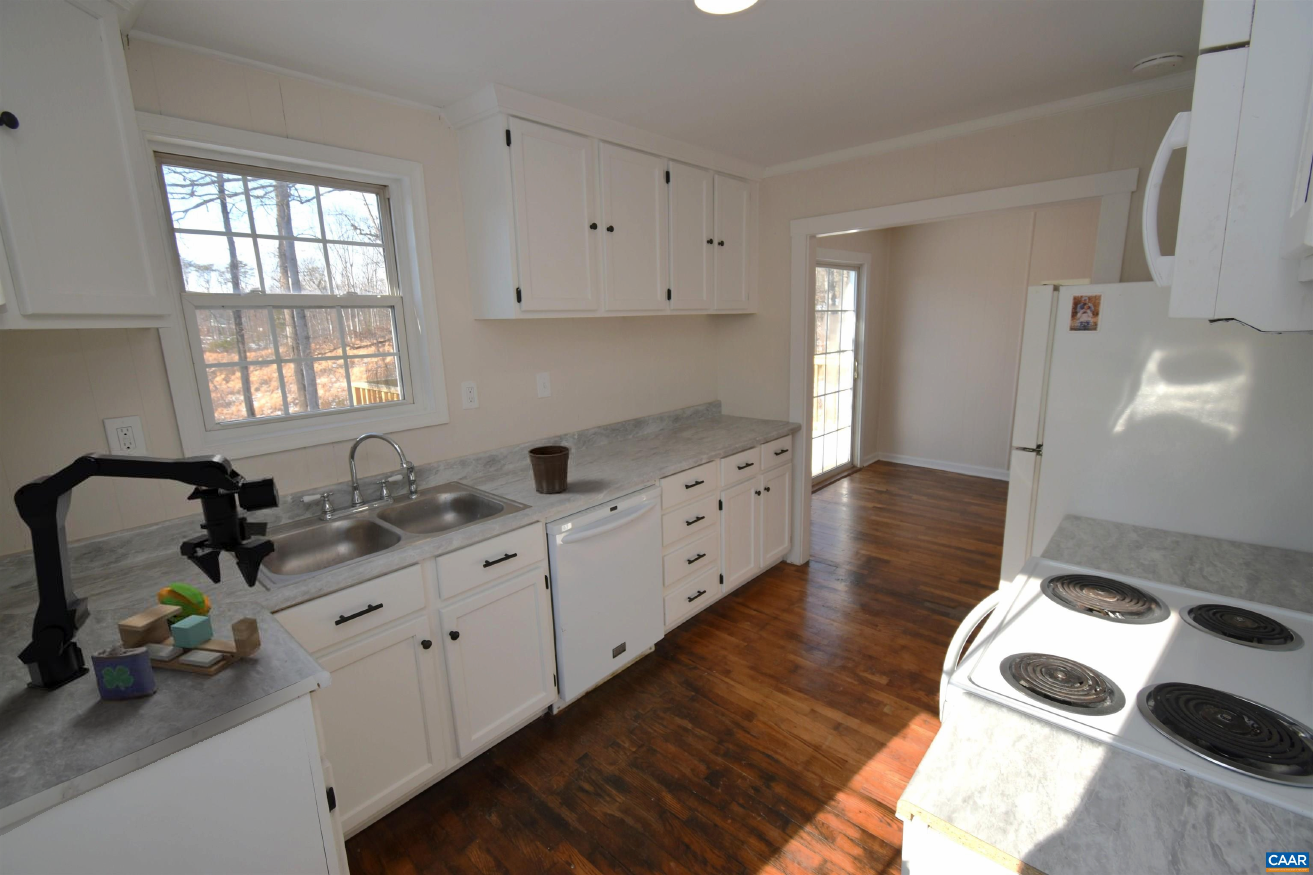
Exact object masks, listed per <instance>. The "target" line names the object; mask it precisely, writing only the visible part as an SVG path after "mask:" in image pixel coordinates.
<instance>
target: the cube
mask: <svg viewBox="0 0 1313 875" xmlns="http://www.w3.org/2000/svg"><path fill="white" fill-rule="evenodd" d="M170 630H171V634H172V637H173V640H174V644H175V646H178V647H185V648H194V647H196V646H198V645H199V644H201V643H203V642H205V641H206V640H208V639H210V638H211V639H213V637H214V633H213V628H212V621H211V618H210V616H197V615H192V616H190V617H188V618H186V619H184V620H182V621H180V622H178V623H174V624H172V625H170Z"/></svg>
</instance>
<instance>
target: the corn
mask: <svg viewBox="0 0 1313 875" xmlns="http://www.w3.org/2000/svg"><path fill="white" fill-rule="evenodd" d="M157 601H158V603H159V604H162V605H171V606H179V607H182V612H180V613H178V614H176V615H174V616H176V617H174V616H172V617H169V618H167V619H168V620H170V621H171V622H173V623H174V624H176V623H178V622H180V621H182V620H184V619H186V618H188V617H190V616H192V615H197V616H205V617H207V615H209V613H210V611H211V609H212V607H211V602H210V601H211V600H210V598H208V596H207V595H206V594H203V592H202V591H200V590H199V589H196V588H195V587H193V586H191V585H189V584H186V583H179V582H178V583H175V582H174V583H169V584H168V587H163V588H162V589H160V590H158V592H157Z"/></svg>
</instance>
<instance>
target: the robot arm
mask: <svg viewBox="0 0 1313 875" xmlns="http://www.w3.org/2000/svg"><path fill="white" fill-rule="evenodd" d="M91 477H104V478H105V477H110V478H111V477H112V478H126V479H127V478H132V479H151V480H152V479H153V480H154V479H156V480H171V481H176V482H180V483H182V484H186V485H190V486H194V489H193V490H192V491H191V493H190V494H189V495H187V497H186V500H187V501H193V500H195V501H196V500H200V504H201V509H202V513H203V519H204V522H202V523H200V524H199V527H200V530H206V533H203V534H200V535H197V536H194V537H192V538H189V539H187V540H185V541H184V540H183V541H182V543H181V545H180V546H179V550H180V554H181V556H184V557H186V559H187V560H190V561H191V563H193V564H194V566H196V567H197V568H198V569H200V570H201V572H202V573H204V574H205V575H206V577H207V578H209V580H210V581H211V582H213V584H215V585H216V584H217V585H218V584H220V583H221V581H222V578H221V566H220V558H219V557H220V556H221V553H222V552H229V553H234V557H235V559H237V561H235V565H236V566H237V568H238V570H239V572H240V574H241V576H242V577H243V579H244V581H245V583H246V584H247V586H248V588H253V587H255V586H256V583H257V579H258V575H259V571H260V568H261V564H262V562H263V560H264V559H265V558H266V557H269V556H270V555H271V554H272V553H274V552H276V547H275V542H274V541H273V540H271V539H267V538H254V539H252V537H253V536H255V537H256V536H261V537H267V531H268V524H269V523H268V521H259V520H258V521H257V520H248V517H247V516H243V515H239V510H238V509H239V508H240V509H242V510H243V511H246V512H247V513H251V512H257V511H263V510H270V509H277V508H280V495H279V489H278V488H277V485H276V482H275V478H274V476H265V477H262V478H255V479H249V480H248V479H247V478H245V477H244V475H242V474H241V473H239V472H238V471H237V470H235V469H234V468H233V466H232V463H231V461H230V460H229V459H228V458H227V457H226V456H223V455H221V454H207V455H206V454H205V455H195V456H194V455H193V456H188V457H187V456H186V457H177V458H170V457H156V456H155V457H153V456H139V455H125V454H107V453H106V454H105V453H100V452H93V451H92V452H87V453H85V454H83V455H81V456H78V458H76V459H74V461H73V462H72V463H71V464H69V465H67V466H65V467H64V468H62V469H61V470H59V471H58V472H56V473H54V474H53V475H52V474H47V475H41V476H40V477H37V478H35V479H33V480H31V481H29V482H28V483H26V484H24V485H22V486H20V487H19V488H18V489H17V490H16V491H15V493H14V495H13V502H14V504H15V508H16V510H17V512H18V515H19V517H20V518H21V520H22V521H23V523H24V524H25V525H26V526H27V527H28V529H29V531H30V536H31V545H32V553H33V561H34V569H35V577H36V583H37V584H36V585H37V594H38V599H39V602H38V606H37V609H36V612H35V615H34V617H33V622H32V628H31V629H32V630H31V641H30V642H29V644H27V645H26V646H25V648H24V649H23V650H22V651H20V653H19V654H18V655H17V659H19V660H20V661H21V662H22V664H23V665H26V667H27V670H28V673H29V677H30V681H29V682H27V683H26V687H28V688H32V689H33V688H34V689H40V690H45V691H53V690H55V689H57V688H59V687H61V686H63V685H64V684H66V683H69V682H70V681H74V680H75V679H76V678H79V677H81V676H82V675H85V674H87V673H88V672H89V671H91V669H90V668H89V667H85V666H86V660H85V658H84V653H83V650H82V647H81V646H78V643H77V641H72V640H74V639H75V638H76V636H77V634H78V632H79V631H80V630H81V629H82V628H83V627H84V625H85V624H86V622H87V620H88V619H89V618H90V617H91V615H92V613H91V612H90V611H89V608H88V604H89V597H88V596H85V597H80V598H79V597H78V596H77V595H76V593H75V592H74V590H73V582H72V575H71V574H72V573H71V565H70V557H69V548H68V541H67V540H68V538H67V531H66V519H67V517H68V513H69V509H70V507H71V502H72V495H73V488H75V487H77V486H78V485H80V484H82V483H83V482H84V481H86V480H87V479H89V478H91ZM236 494H237V497H236ZM237 501H238V504H239V505H238V504H237ZM238 506H239V508H238ZM251 539H252V540H251ZM248 540H250V541H248ZM244 541H248V542H245V543H244Z"/></svg>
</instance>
